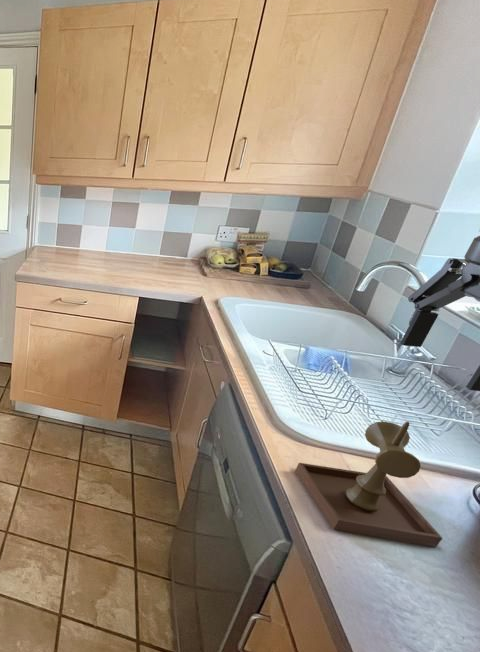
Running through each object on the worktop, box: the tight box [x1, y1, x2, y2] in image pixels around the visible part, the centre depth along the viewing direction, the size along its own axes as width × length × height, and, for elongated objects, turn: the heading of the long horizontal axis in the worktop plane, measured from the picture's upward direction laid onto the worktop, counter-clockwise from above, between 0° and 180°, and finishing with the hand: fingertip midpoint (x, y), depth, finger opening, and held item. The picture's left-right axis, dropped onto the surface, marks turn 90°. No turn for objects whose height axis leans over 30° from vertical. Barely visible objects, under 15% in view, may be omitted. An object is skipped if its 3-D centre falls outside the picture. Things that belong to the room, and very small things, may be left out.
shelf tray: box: [294, 462, 443, 548], centre depth 81 cm, size 16×14×2 cm
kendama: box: [346, 421, 422, 512], centre depth 77 cm, size 6×10×20 cm, turn 147°
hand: (441, 365), depth 68 cm, fingers open, 13 cm apart
